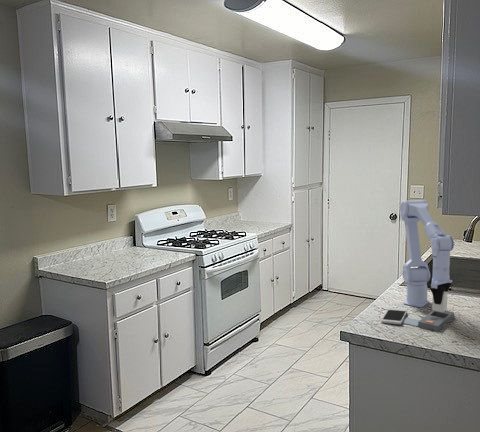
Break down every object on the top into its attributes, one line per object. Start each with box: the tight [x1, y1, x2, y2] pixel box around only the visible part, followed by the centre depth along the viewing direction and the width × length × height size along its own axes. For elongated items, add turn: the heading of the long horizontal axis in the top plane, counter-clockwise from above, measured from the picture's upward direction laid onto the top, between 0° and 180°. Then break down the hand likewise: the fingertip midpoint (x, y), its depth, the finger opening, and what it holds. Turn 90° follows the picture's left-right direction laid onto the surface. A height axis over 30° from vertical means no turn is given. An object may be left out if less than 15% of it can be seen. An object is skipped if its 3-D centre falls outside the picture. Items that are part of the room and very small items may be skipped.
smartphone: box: [380, 307, 408, 325], centre depth 174 cm, size 7×16×1 cm, turn 151°
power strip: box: [418, 310, 455, 332], centre depth 168 cm, size 18×7×2 cm, turn 138°
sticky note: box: [401, 317, 421, 327], centre depth 169 cm, size 6×6×1 cm
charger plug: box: [431, 291, 448, 312], centre depth 170 cm, size 4×4×7 cm
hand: (439, 302), depth 170 cm, fingers closed on charger plug, 4 cm apart
